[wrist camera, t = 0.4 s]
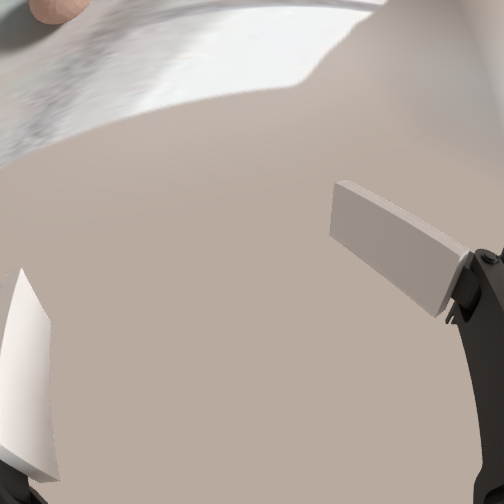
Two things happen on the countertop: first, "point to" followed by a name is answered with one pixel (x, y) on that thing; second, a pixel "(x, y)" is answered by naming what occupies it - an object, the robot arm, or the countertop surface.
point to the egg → (56, 10)
